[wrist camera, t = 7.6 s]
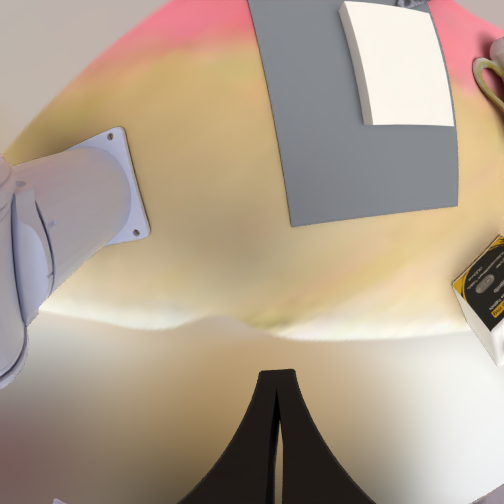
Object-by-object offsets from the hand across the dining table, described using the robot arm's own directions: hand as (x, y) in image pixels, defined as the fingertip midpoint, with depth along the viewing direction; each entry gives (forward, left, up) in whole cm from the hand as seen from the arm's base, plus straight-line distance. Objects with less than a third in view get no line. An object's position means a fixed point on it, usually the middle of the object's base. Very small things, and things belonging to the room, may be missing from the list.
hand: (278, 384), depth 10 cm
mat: (+8, +11, -10) cm, 17 cm away
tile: (+7, +13, -9) cm, 17 cm away
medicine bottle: (+20, -5, -10) cm, 23 cm away
